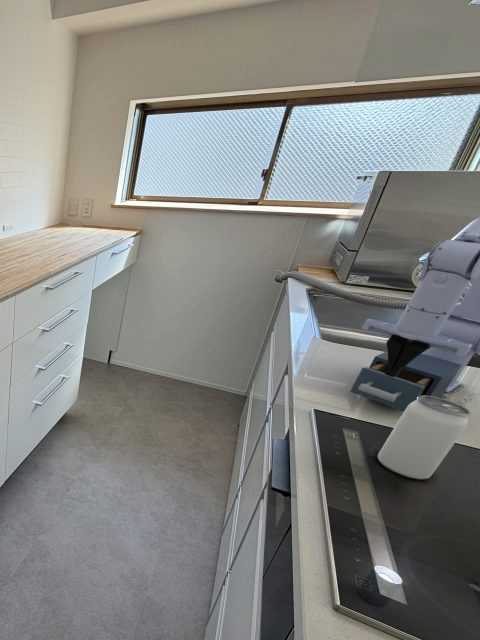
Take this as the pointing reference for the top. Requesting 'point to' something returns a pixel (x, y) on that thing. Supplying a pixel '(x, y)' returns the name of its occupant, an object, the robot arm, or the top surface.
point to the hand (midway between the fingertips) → (390, 374)
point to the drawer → (391, 386)
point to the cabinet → (428, 371)
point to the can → (423, 437)
